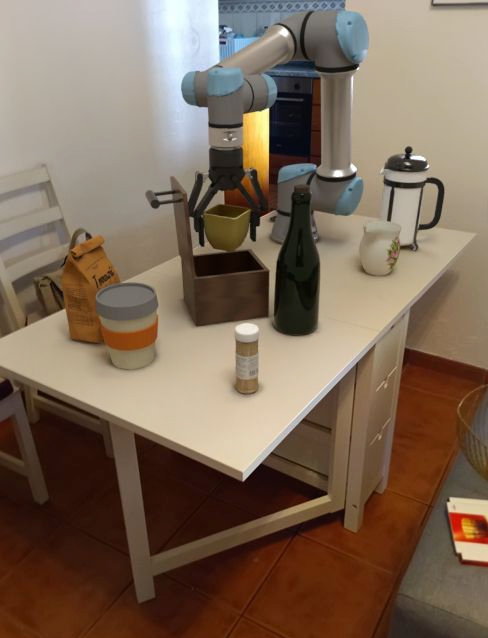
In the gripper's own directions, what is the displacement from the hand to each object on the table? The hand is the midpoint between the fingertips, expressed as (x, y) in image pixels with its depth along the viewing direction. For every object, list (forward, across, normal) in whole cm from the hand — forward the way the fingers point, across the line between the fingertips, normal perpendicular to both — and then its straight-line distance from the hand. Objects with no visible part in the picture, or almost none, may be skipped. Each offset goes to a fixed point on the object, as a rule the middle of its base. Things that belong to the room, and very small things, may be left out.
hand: (227, 242), depth 139 cm
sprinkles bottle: (+17, -6, -36) cm, 40 cm away
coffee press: (+17, +64, +29) cm, 72 cm away
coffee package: (+17, -32, -4) cm, 37 cm away
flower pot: (+2, 0, 0) cm, 2 cm away
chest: (+17, -1, 0) cm, 17 cm away
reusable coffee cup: (+17, -26, -18) cm, 36 cm away
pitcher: (+17, +47, +12) cm, 52 cm away
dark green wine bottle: (+17, +12, -14) cm, 25 cm away
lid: (-5, -10, 0) cm, 11 cm away
